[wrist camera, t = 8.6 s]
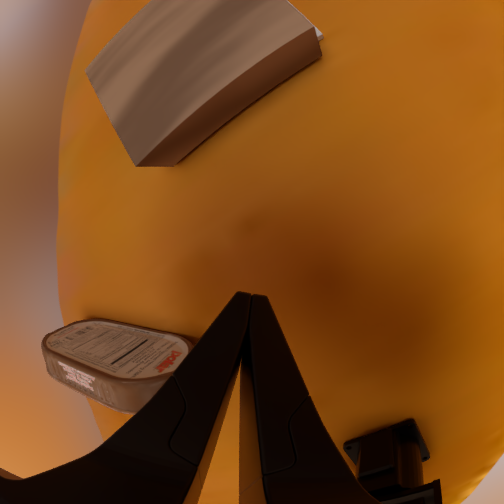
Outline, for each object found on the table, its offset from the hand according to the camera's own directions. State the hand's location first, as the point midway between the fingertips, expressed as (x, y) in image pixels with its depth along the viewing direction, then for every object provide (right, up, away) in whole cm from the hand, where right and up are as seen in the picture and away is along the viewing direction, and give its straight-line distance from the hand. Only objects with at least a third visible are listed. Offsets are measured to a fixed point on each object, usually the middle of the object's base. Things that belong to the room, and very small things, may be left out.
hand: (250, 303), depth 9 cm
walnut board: (-1, +10, +7) cm, 12 cm away
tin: (-10, -6, +16) cm, 20 cm away
